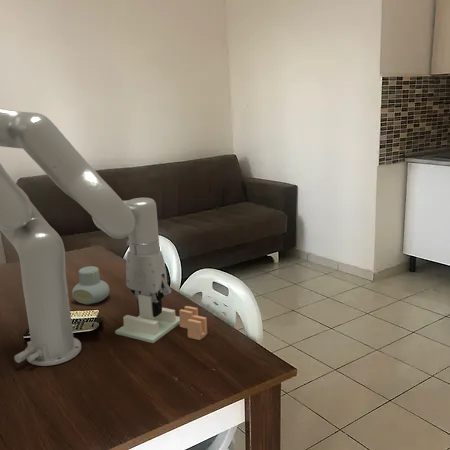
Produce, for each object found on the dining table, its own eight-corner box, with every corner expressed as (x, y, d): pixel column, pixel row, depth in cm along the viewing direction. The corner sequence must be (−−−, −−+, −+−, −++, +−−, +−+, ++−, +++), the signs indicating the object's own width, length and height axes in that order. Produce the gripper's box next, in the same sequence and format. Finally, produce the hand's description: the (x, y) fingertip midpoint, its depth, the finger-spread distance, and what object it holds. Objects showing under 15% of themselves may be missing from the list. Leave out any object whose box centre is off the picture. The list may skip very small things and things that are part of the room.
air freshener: (115, 297, 151) (112, 266, 148) (99, 308, 143) (96, 275, 141) (84, 293, 154) (81, 263, 152) (68, 303, 147) (64, 272, 144)
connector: (152, 319, 127) (149, 291, 125) (140, 317, 129) (137, 288, 127) (161, 313, 130) (159, 285, 128) (149, 311, 132) (146, 283, 130)
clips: (200, 340, 122) (199, 323, 121) (171, 333, 126) (170, 316, 125) (215, 327, 129) (214, 311, 128) (187, 321, 133) (186, 305, 132)
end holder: (153, 343, 122) (152, 329, 121) (115, 333, 127) (114, 320, 126) (183, 320, 133) (183, 307, 132) (148, 312, 139) (147, 300, 138)
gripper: (109, 247, 125) (116, 313, 130) (163, 255, 118) (168, 325, 122) (127, 239, 132) (134, 302, 136) (180, 246, 124) (184, 313, 129)
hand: (150, 312), depth 129 cm, fingers closed on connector, 4 cm apart
